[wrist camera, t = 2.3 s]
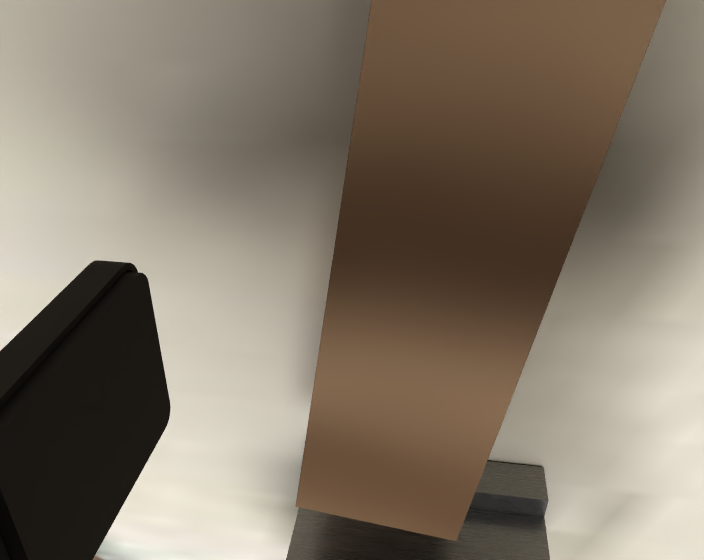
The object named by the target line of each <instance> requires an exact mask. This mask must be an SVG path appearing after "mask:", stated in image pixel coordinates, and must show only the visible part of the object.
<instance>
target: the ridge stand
mask: <svg viewBox="0 0 704 560" xmlns="http://www.w3.org/2000/svg"><path fill="white" fill-rule="evenodd" d="M547 504H548V495H547V488H546V481H545V474H544V467H537V466H528V465H519V464H510V463H501V462H492V461H487V463H486V465H485V468H484V471H483V473H482V476H481V478H480V481H479V484H478V486H477V489H476V491H475V494H474V496H473V499H472V502H471V504H470V507H469V509H468V512H467V514H466V517H465V520H464V522H463V525H462V527H461V530H460V533H459V535H458V538H457V540H456V541H453V540H448V539H444V538H439V537H434V536H430V535H425V534H421V533H416V532H411V531H407V530H402V529H397V528H393V527H388V526H384V525H379V524H374V523H370V522H365V521H360V520H356V519H351V518H347V517H342V516H337V515H333V514H328V513H323V512H319V511H314V510H310V509H305V508H300V507H299V510H298V514H297V518H296V522H295V526H294V530H293V534H292V538H291V542H290V546H289V550H288V554H287V558H286V560H550V556H549V549H548V541H547V534H546V526H545V519H544V515H545V511H546V507H547Z"/></svg>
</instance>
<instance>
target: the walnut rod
mask: <svg viewBox="0 0 704 560" xmlns="http://www.w3.org/2000/svg"><path fill="white" fill-rule="evenodd" d="M665 1H666V0H372V1H371V8H370V14H369V21H368V28H367V34H366V41H365V48H364V54H363V61H362V68H361V74H360V81H359V88H358V94H357V101H356V108H355V114H354V121H353V128H352V134H351V141H350V148H349V154H348V161H347V168H346V174H345V181H344V188H343V194H342V201H341V208H340V214H339V221H338V228H337V234H336V241H335V248H334V254H333V261H332V268H331V274H330V281H329V288H328V294H327V301H326V308H325V314H324V321H323V328H322V334H321V341H320V348H319V354H318V361H317V368H316V374H315V381H314V388H313V394H312V401H311V408H310V414H309V421H308V428H307V434H306V441H305V448H304V454H303V461H302V468H301V474H300V481H299V488H298V494H297V501H296V507H300V508H305V509H310V510H314V511H319V512H323V513H328V514H333V515H337V516H342V517H347V518H351V519H356V520H360V521H365V522H370V523H374V524H379V525H384V526H388V527H393V528H397V529H402V530H407V531H411V532H416V533H421V534H425V535H430V536H434V537H439V538H444V539H448V540H453V541H456V540H457V538H458V535H459V533H460V530H461V527H462V525H463V522H464V520H465V517H466V514H467V512H468V509H469V507H470V504H471V502H472V499H473V496H474V494H475V491H476V489H477V486H478V484H479V481H480V478H481V476H482V473H483V471H484V468H485V465H486V463H487V460H488V458H489V455H490V453H491V450H492V447H493V445H494V442H495V440H496V437H497V435H498V432H499V429H500V427H501V424H502V422H503V419H504V416H505V414H506V411H507V409H508V406H509V404H510V401H511V398H512V396H513V393H514V391H515V388H516V386H517V383H518V380H519V378H520V375H521V373H522V370H523V367H524V365H525V362H526V360H527V357H528V355H529V352H530V349H531V347H532V344H533V342H534V339H535V337H536V334H537V331H538V329H539V326H540V324H541V321H542V318H543V316H544V313H545V311H546V308H547V306H548V303H549V300H550V298H551V295H552V293H553V290H554V288H555V285H556V282H557V280H558V277H559V275H560V272H561V269H562V267H563V264H564V262H565V259H566V257H567V254H568V251H569V249H570V246H571V244H572V241H573V238H574V236H575V233H576V231H577V228H578V226H579V223H580V220H581V218H582V215H583V213H584V210H585V208H586V205H587V202H588V200H589V197H590V195H591V192H592V189H593V187H594V184H595V182H596V179H597V177H598V174H599V171H600V169H601V166H602V164H603V161H604V159H605V156H606V153H607V151H608V148H609V146H610V143H611V140H612V138H613V135H614V133H615V130H616V128H617V125H618V122H619V120H620V117H621V115H622V112H623V110H624V107H625V104H626V102H627V99H628V97H629V94H630V91H631V89H632V86H633V84H634V81H635V79H636V76H637V73H638V71H639V68H640V66H641V63H642V61H643V58H644V55H645V53H646V50H647V48H648V45H649V42H650V40H651V37H652V35H653V32H654V30H655V27H656V24H657V22H658V19H659V17H660V14H661V12H662V9H663V6H664V4H665Z"/></svg>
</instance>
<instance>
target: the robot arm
mask: <svg viewBox="0 0 704 560" xmlns="http://www.w3.org/2000/svg"><path fill="white" fill-rule="evenodd" d="M169 416H170V400H169V395H168V389H167V384H166V378H165V372H164V367H163V361H162V356H161V350H160V344H159V339H158V333H157V328H156V322H155V316H154V311H153V305H152V300H151V294H150V288H149V283H148V279H147V277H146V275H145V274H143V273H138V271H137V269H136V267H135V266H134V265H133V264H132V263H123V262H111V261H93V262H92V263H90V264H89V265H88V266H87V267H86V268H85V269H84V270H83V271H82V272H81V273H80V274H79V275H78V276H77V277H76V278H75V279H74V280H73V281H72V282H71V283H70V284H69V285H68V286H67V287H66V288H65V289H64V290H63V291H62V292H60V293H59V294H58V295H57V296H56V297H55V298H54V299H53V300H52V301H51V302H50V303H49V304H48V305H47V306H46V307H45V308H44V309H43V310H42V311H41V312H40V313H39V314H38V315H37V316H36V317H35V318H34V319H33V320H32V321H31V322H30V323H29V324H28V325H27V326H26V327H25V328H24V329H23V330H22V331H21V332H19V333H18V334H17V335H16V336H15V337H14V338H13V339H12V340H11V341H10V342H9V343H8V344H7V345H6V346H5V347H4V348H3V349H2V350H1V351H0V560H93V558H94V556H95V554H96V552H97V551H98V549H99V547H100V545H101V543H102V542H103V540H104V538H105V536H106V534H107V533H108V531H109V529H110V527H111V525H112V524H113V522H114V520H115V518H116V516H117V515H118V513H119V511H120V509H121V507H122V506H123V504H124V502H125V500H126V498H127V497H128V495H129V493H130V491H131V489H132V488H133V486H134V484H135V482H136V480H137V479H138V477H139V475H140V473H141V471H142V470H143V468H144V466H145V464H146V462H147V461H148V459H149V457H150V455H151V453H152V452H153V450H154V448H155V446H156V444H157V443H158V441H159V439H160V437H161V435H162V434H163V432H164V430H165V428H166V426H167V424H168V420H169Z"/></svg>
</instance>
